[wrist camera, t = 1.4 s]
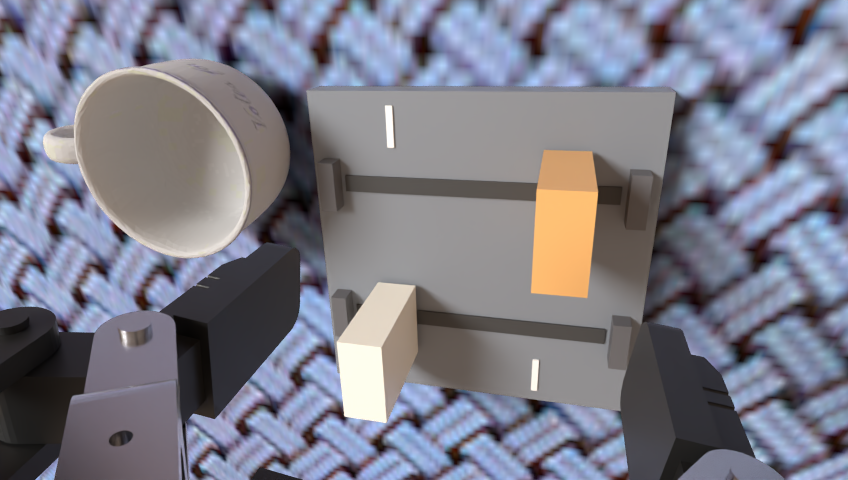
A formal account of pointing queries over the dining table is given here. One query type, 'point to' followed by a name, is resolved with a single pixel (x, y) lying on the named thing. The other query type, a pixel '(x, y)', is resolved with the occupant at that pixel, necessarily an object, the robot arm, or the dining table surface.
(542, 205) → the fader orange
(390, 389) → the fader ivory
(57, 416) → the robot arm
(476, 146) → the console
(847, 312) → the dining table surface
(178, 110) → the teacup
